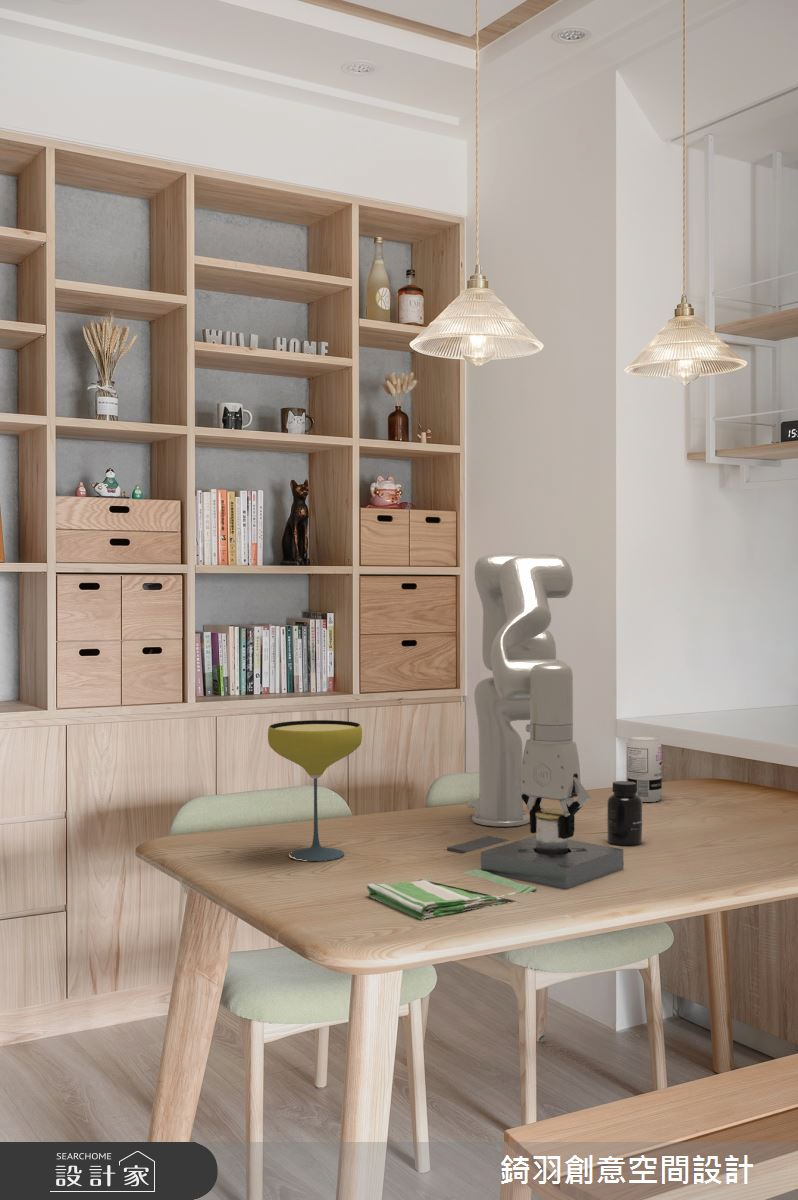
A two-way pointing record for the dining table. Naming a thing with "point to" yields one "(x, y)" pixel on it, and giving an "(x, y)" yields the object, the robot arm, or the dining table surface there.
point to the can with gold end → (549, 832)
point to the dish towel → (441, 896)
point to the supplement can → (645, 766)
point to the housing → (552, 863)
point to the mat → (475, 844)
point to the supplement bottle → (624, 815)
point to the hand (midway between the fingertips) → (551, 833)
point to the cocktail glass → (315, 761)
